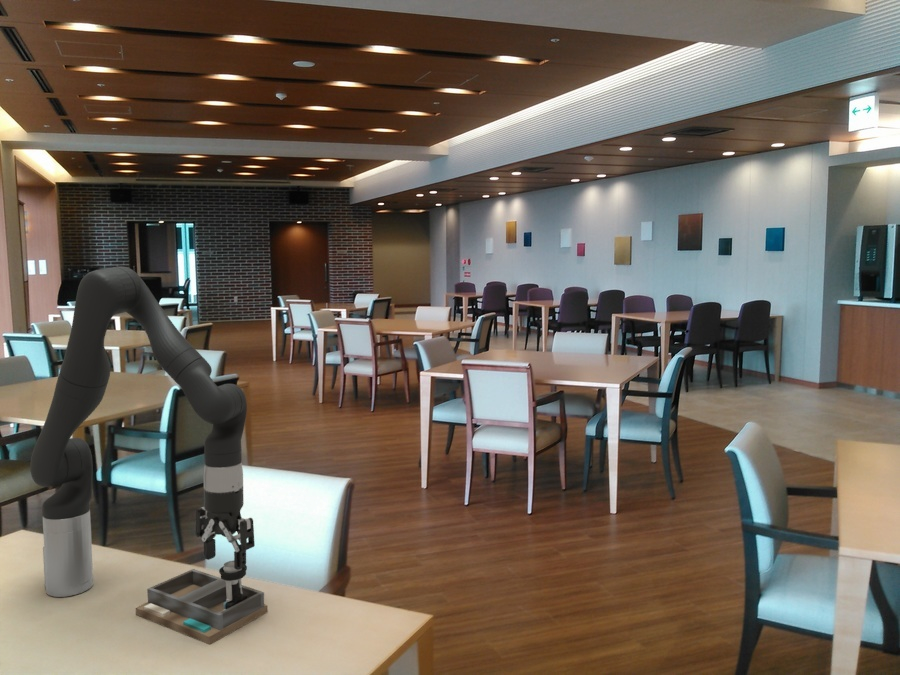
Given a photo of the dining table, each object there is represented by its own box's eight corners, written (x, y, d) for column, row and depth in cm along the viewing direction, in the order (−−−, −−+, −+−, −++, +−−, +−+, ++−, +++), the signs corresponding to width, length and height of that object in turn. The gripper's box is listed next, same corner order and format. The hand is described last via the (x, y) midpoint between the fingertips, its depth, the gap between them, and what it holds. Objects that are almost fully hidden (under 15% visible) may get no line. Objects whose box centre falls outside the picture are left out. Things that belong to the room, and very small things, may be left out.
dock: (135, 614, 148) (135, 593, 147) (195, 587, 160) (195, 567, 160) (209, 644, 136) (208, 621, 136) (267, 612, 149) (267, 591, 149)
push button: (231, 622, 141) (229, 573, 140) (210, 617, 144) (208, 569, 143) (254, 608, 147) (252, 560, 146) (234, 603, 150) (231, 557, 149)
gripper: (184, 483, 144) (185, 561, 146) (234, 496, 137) (235, 578, 138) (213, 474, 150) (215, 549, 152) (263, 486, 143) (264, 564, 145)
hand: (224, 563), depth 145 cm, fingers open, 8 cm apart
